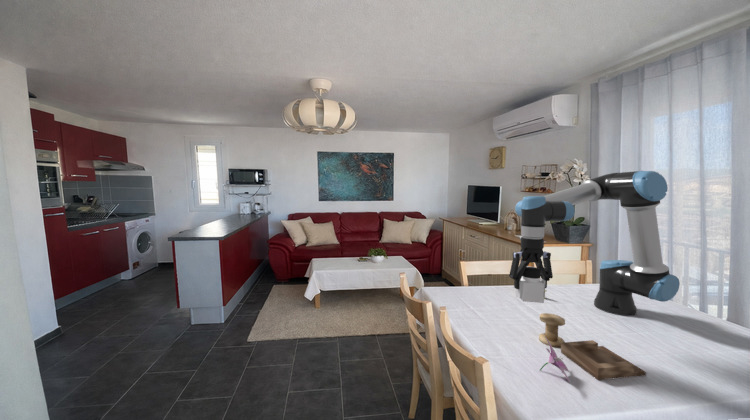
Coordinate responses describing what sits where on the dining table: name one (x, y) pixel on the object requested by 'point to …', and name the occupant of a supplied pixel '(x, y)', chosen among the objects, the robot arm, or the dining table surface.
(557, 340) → the bobbin
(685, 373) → the dining table surface
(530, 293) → the medicine bottle
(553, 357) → the lily
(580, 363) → the notched board
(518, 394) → the dining table surface
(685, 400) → the dining table surface
